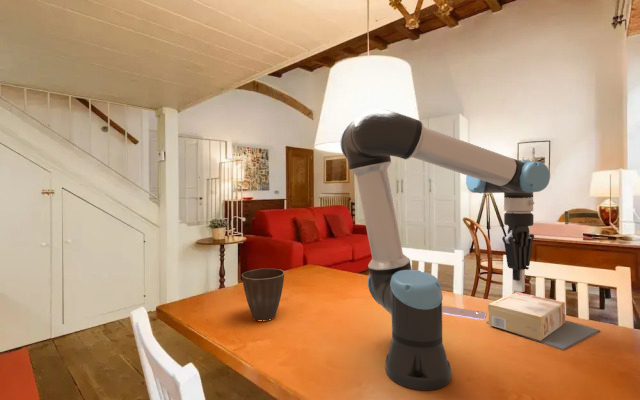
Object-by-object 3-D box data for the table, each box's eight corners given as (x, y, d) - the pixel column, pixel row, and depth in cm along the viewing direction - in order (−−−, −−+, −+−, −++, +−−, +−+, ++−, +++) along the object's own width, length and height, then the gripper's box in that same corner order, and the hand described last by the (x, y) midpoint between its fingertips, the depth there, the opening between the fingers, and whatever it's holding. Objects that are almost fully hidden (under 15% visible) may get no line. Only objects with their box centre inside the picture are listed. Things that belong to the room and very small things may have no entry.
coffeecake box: (541, 341, 92) (566, 323, 104) (541, 316, 92) (565, 301, 104) (487, 325, 104) (515, 311, 116) (487, 303, 104) (514, 291, 116)
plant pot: (294, 315, 119) (292, 271, 118) (265, 329, 106) (263, 280, 106) (264, 308, 127) (262, 266, 127) (234, 320, 115) (232, 275, 114)
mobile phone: (441, 304, 124) (486, 311, 116) (442, 307, 124) (486, 314, 116) (437, 311, 117) (484, 318, 109) (437, 314, 117) (484, 321, 109)
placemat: (563, 350, 88) (563, 348, 88) (486, 323, 107) (486, 321, 107) (599, 331, 99) (599, 329, 99) (524, 310, 118) (524, 308, 118)
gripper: (518, 213, 92) (519, 297, 92) (543, 212, 98) (543, 290, 99) (493, 212, 98) (493, 290, 99) (518, 211, 105) (518, 284, 105)
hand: (518, 290), depth 99 cm, fingers closed
